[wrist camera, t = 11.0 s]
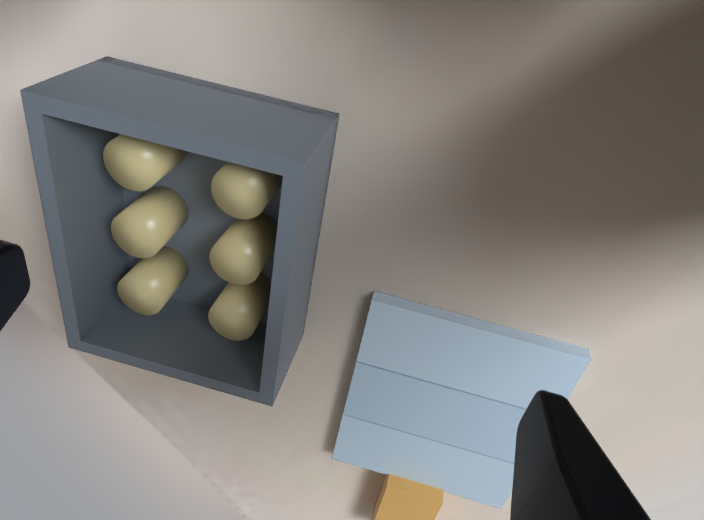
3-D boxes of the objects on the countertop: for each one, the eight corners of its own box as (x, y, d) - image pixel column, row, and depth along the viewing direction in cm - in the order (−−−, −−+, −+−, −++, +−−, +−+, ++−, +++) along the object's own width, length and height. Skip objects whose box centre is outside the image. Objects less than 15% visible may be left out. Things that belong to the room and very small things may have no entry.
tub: (339, 113, 19) (304, 162, 15) (303, 334, 25) (272, 406, 22) (106, 56, 20) (20, 89, 16) (127, 285, 26) (68, 347, 22)
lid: (588, 346, 23) (594, 372, 21) (475, 539, 32) (474, 565, 30) (375, 289, 23) (368, 311, 22) (323, 493, 32) (316, 517, 31)
